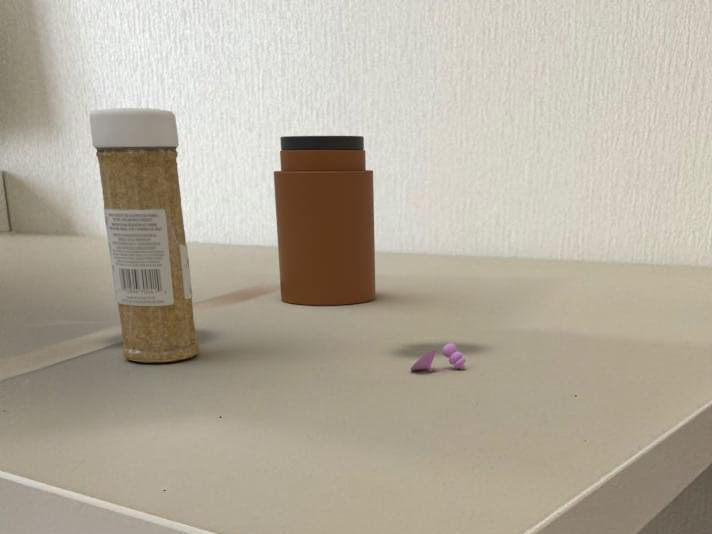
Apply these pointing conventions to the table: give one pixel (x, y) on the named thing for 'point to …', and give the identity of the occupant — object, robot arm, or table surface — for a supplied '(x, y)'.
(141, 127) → the sprinkles bottle
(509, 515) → the table surface
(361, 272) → the amber bottle
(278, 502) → the table surface
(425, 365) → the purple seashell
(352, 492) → the table surface
